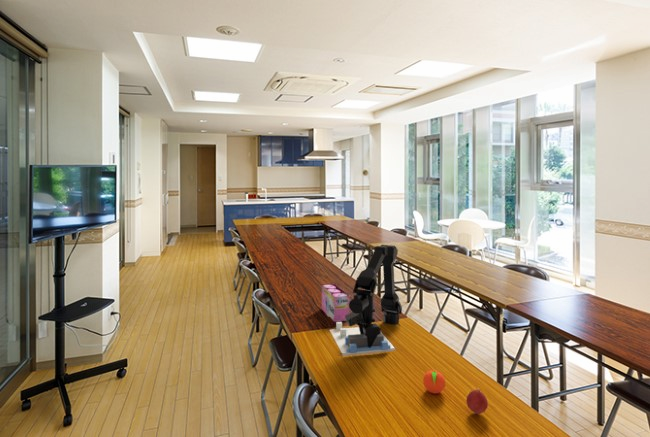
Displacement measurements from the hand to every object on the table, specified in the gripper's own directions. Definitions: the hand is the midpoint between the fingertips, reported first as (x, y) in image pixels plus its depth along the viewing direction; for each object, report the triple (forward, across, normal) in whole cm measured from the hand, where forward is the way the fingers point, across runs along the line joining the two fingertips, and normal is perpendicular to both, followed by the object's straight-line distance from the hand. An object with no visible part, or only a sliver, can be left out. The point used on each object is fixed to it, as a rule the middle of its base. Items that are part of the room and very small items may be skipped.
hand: (366, 342), depth 156 cm
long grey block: (+2, 0, 0) cm, 2 cm away
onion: (+3, +48, +19) cm, 52 cm away
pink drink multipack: (+3, -40, -4) cm, 40 cm away
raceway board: (+3, -8, 0) cm, 8 cm away
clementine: (+3, +35, +12) cm, 37 cm away
